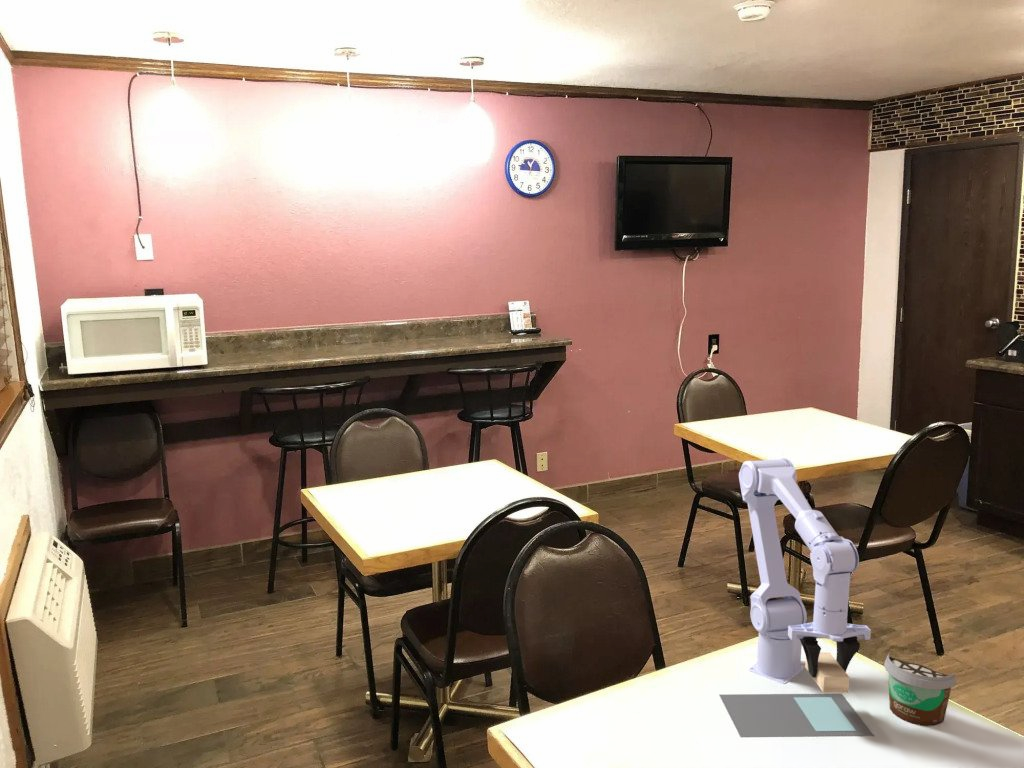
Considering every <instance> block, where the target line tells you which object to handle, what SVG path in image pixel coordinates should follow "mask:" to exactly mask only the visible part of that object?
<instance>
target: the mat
mask: <svg viewBox="0 0 1024 768" xmlns="http://www.w3.org/2000/svg"><path fill="white" fill-rule="evenodd" d="M719 697H720V700H721V702H722V703H723V705H724V708H725V710H726V711H727V713H728V715H729V717H730V719H731V721H732V723H733V725H734V727H735V729H736V730H737V733H738V735H739V737H740V738H790V737H793V738H798V737H799V738H801V737H804V738H805V737H816V738H817V737H875V734H874V733H873V731H872V730H871V729H870V728H869V727H868V725H867V724H866V723H865V722H864V721H863V719H862V718H861V717H860V715H859V714H858V713H857V711H855V708H853V706H852V705H851V704H850V703H849V701H848V700H847V699H846V697H845V696H844V695H843V693H770V694H769V693H763V694H762V693H761V694H759V693H758V694H757V693H756V694H751V693H750V694H748V693H746V694H744V693H743V694H741V693H740V694H729V693H728V694H719Z"/></svg>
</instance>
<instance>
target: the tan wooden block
mask: <svg viewBox="0 0 1024 768" xmlns="http://www.w3.org/2000/svg"><path fill="white" fill-rule="evenodd" d="M804 667H805V668H804V669H806V670H807V672H808V673H809V670H808V663H807V659H806V658H805V662H804ZM812 679H813V680H814V682H815V683H816V684H817V686H818V687H819V688H820V690H821V692H822V693H827V694H843V693H849V687H850V676H849V675H848V673H847V671H846V672H845V671H844V670H843V668H842V667H841V666H840V665H839V663H838V662H837V661H836V658H835V657H834V656H833V654H831V652H820V654H819V658H818V669H817V676H816V677H812Z"/></svg>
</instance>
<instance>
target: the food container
mask: <svg viewBox="0 0 1024 768" xmlns="http://www.w3.org/2000/svg"><path fill="white" fill-rule="evenodd" d="M883 664H884V669H885V671H886V672H887V673H888V674H887V675H888V697H889V698H888V701H889V710H890V711H891V712H892V714H893V715H895V716H896V717H897V718H898V719H900V720H902V721H904V722H907V723H910V724H913V725H917V726H923V727H934V726H939V725H941V724H942V723H944V721H945V718H946V713H947V708H948V704H949V701H950V700H949V699H950V694H951V691H952V688H953V687H955V686H956V685H957V678H956V677H957V676H955V672H952V673H951V674H945V673H941V672H939V671H936V670H933V669H932V668H929V667H927V666H925V665H922V664H919V663H913V662H909V661H904V660H901V659H897V658H895V657H892V656H891V652H888V654H887V656H886V657H885V661H884V663H883Z"/></svg>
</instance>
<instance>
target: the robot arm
mask: <svg viewBox="0 0 1024 768" xmlns="http://www.w3.org/2000/svg"><path fill="white" fill-rule="evenodd" d="M797 473H798V472H797V469H796V468H795V467H794V465H793V463H792V462H791V460H790V459H788V458H786V457H784V458H780V459H779V458H778V459H764V460H745V461H744V462H743V463H742V464H741V467H740V469H739V472H738V480H739V486H740V491H741V493H740V494H741V496H742V501H743V502H745V503H747V509H748V513H749V515H748V516H749V520H750V526H751V532H752V533H751V534H752V539H753V544H754V550H755V551H754V552H755V555H756V562H757V563H756V564H757V567H758V573H759V580H760V585H759V586H758V588H756V590H755V591H754V592H753V593H751V595H750V613H749V615H750V620H751V623H752V625H753V627H754V628H755V630H756V631H757V632H758V638H757V639H758V641H757V660H756V663H755V664H754V665H752V666H751V667H749V668H748V671H749V672H752V673H754V674H757V675H758V676H762V677H764V678H766V679H769V680H772V681H775V682H777V683H780V684H782V685H786V684H787V683H788V682H790V681H791V680H792V679H793V678H795V677H796V676H797V675H798V674H799V673H800V672H801V671H804V669H806V668H805V665H802V664H801V662H802V661H801V659H802V648H803V651H804V654H805V660H806V659H807V663H808V670H809V672H808V673H809V675H810V676H811V678H813V677H816V676H817V669H818V658H819V654H820V653H821V651H822V647H821V646H820V645H819V641H818V640H817V639H826V640H827V639H828V640H831V641H832V642H836V643H835V644H836V658H835V660H836V661H837V662H838V663H839V665H840V666H841V667H842V668H843V670H844V671H845V672H846V673H847V670H848V667H849V665H850V663H851V661H852V660H853V658H854V656H856V654H857V652H858V651H859V650H860V647H861V643H860V642H859V641H858V639H863V640H864V641H865V640H866V641H870V640H871V636H872V635H871V634H872V633H871V632H872V629H871V628H869V626H868V625H865V624H853V623H848V611H849V597H850V585H851V584H850V583H851V573H853V572H855V571H857V569H858V567H859V562H860V558H859V557H860V556H859V553H858V550H857V547H856V546H855V544H854V543H853V541H852V540H850V539H848V538H845V537H843V536H839V534H838V533H837V532H836V531H835V529H834V528H833V526H832V525H831V524H830V522H829V521H828V520H827V518H826V516H825V515H824V514H823V512H822V511H820V510H817V509H812V507H811V505H810V504H809V502H808V500H807V498H806V497H805V495H804V493H803V491H802V490H801V488H800V486H799V485H798V483H797V480H798V474H797ZM779 500H780V502H781V503H782V504H783V506H785V507H786V508H787V510H788V511H789V513H790V514H791V515H792V516H793V517H794V519H795V523H794V529H795V531H796V533H798V535H799V536H800V538H801V539H802V541H803V543H804V544H805V545H806V546H807V548H808V549H809V551H810V553H809V558H810V562H811V566H812V576H813V579H814V581H815V589H814V604H813V617H812V619H813V620H812V621H811V622H807V619H808V617H807V616H808V615H807V610H806V606H805V605H804V603H803V600H802V598H801V593H800V591H799V590H798V589H797V588H795V587H794V586H792V585H790V584H789V583H788V581H787V575H786V569H785V565H784V564H785V562H784V557H783V552H782V546H781V542H780V541H781V540H780V535H779V530H778V524H777V519H776V512H775V504H776V503H777V501H779ZM774 598H776V599H774ZM777 598H782V599H777ZM770 599H772V600H770ZM808 670H807V671H808Z"/></svg>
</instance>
